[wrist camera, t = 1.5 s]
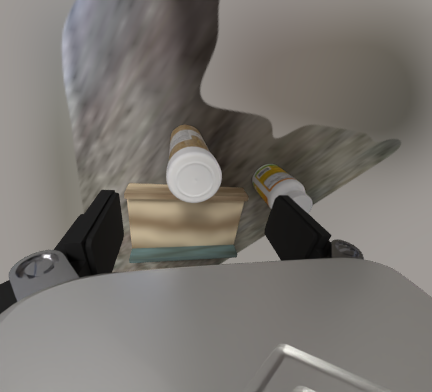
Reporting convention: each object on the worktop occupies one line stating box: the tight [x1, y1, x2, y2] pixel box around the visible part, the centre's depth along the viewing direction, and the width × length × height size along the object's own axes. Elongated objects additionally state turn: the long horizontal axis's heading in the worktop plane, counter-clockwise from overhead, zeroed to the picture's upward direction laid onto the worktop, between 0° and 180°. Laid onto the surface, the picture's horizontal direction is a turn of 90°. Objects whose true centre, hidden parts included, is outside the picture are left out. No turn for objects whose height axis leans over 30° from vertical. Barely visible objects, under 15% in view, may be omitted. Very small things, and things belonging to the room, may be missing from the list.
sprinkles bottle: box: [166, 125, 222, 203], centre depth 21 cm, size 5×5×13 cm
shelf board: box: [124, 183, 248, 263], centre depth 31 cm, size 12×18×4 cm, turn 83°
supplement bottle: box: [252, 164, 313, 213], centre depth 28 cm, size 5×5×10 cm
